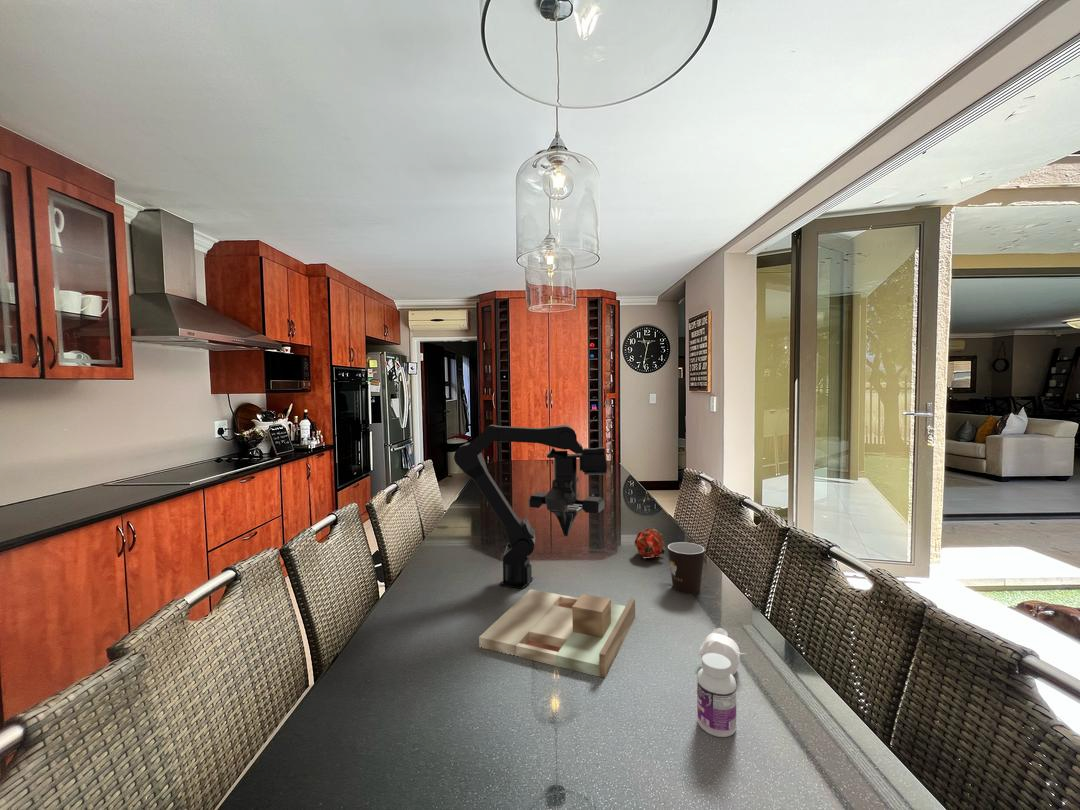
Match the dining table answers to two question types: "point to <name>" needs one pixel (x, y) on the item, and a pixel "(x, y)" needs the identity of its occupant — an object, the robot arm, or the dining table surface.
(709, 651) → the elephant figurine
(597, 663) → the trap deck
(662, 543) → the dragon fruit
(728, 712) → the pill bottle
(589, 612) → the walnut block
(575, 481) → the robot arm
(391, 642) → the dining table surface
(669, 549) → the coffee mug
